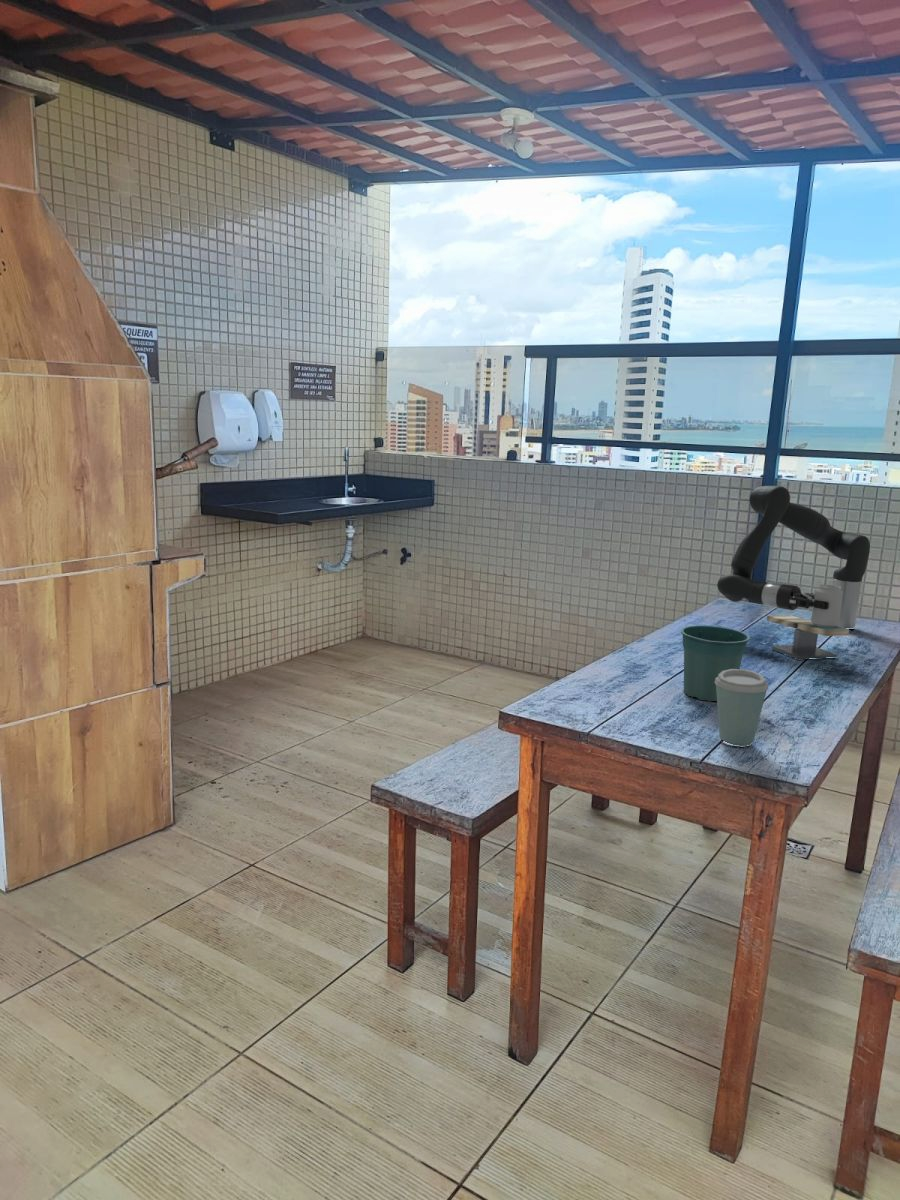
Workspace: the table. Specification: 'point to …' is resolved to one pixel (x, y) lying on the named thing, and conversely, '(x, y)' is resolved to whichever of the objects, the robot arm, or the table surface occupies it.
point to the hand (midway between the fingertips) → (834, 604)
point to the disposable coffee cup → (739, 704)
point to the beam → (807, 625)
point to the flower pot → (710, 657)
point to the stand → (804, 646)
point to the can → (832, 614)
